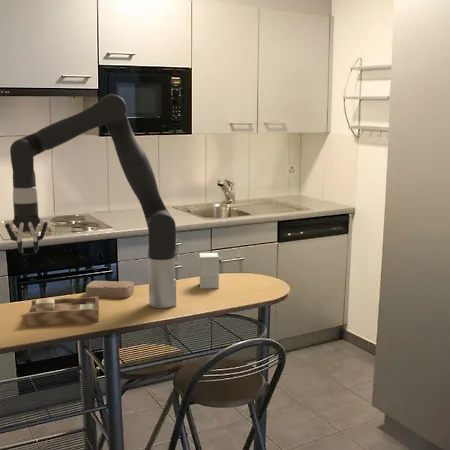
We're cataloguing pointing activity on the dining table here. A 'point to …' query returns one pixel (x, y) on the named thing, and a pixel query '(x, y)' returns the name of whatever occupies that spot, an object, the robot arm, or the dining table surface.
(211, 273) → the supplement box
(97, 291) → the brick
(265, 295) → the dining table surface
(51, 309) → the block
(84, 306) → the tray
